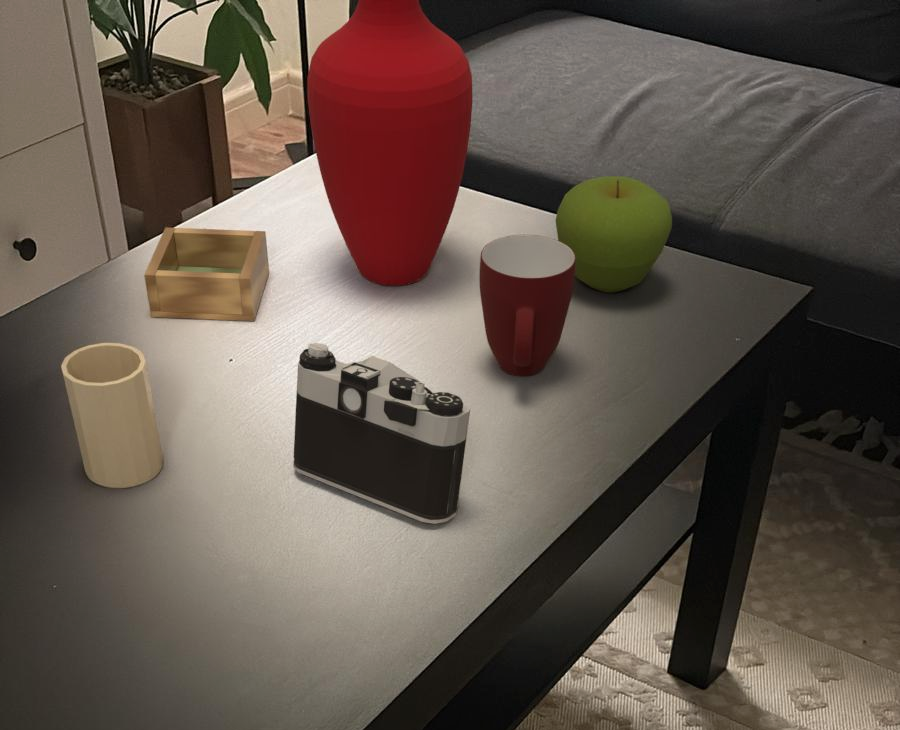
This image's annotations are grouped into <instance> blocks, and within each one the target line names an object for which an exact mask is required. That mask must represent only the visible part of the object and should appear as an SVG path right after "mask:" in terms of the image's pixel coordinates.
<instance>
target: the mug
mask: <svg viewBox="0 0 900 730" xmlns="http://www.w3.org/2000/svg"><path fill="white" fill-rule="evenodd" d="M479 257H480V258H479V277H478V280H479V284H478V285H479V294H480V302H481V308H482V316H483V317H482V318H483V323H484V330H485V336H486V341H487V344H488V346H489V349H490V351H491V353H492V355H493V357H494V358H495V360H496V362H497V364H498V366H499V367H500V369H501V370H502V371H503V372H505V373H507V374H508V375H512V376H514V377H515V376H517V377H531V376H533V375H536V374H538V373H540V372H541V371H542V370H543V369H544V368H545V366H546V365H547V363H548V362H549V360H550V359H551V357H552V356H553V354H554V353H555V351H556V349H557V348H558V346H559V343H560V342H561V341H560V340H561V337H562V334H563V330H564V328H565V327H564V326H565V323H566V319H567V315H568V311H569V308H570V304H571V300H572V297H573V293H574V288H575V285H574V284H575V277H576V276H575V264H576V257H575V254H574V252H573V251H572V249H571V248H570V247H568V246H567V245H566V244H564V243H562V242H560V241H558V239H556V238H555V239H554V238H552V237H548V236H544V235H537V234H513V235H512V234H511V235H507V236H502V237H498V238H496V239H494V240H492V241H490V242H488V243H487V244H485V245H484V246H483V248H482V249H481V251H480V256H479Z"/></svg>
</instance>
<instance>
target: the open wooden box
mask: <svg viewBox="0 0 900 730" xmlns="http://www.w3.org/2000/svg"><path fill="white" fill-rule="evenodd" d="M269 266H270V265H269V254H268V244H267V233H266V230H243V229H242V230H241V229H217V228H192V227H191V228H189V227H164V229H163V232H162V234H161V236H160V238H159V240H158V242H157V245H156V247H155V250H154V252H153V254H152V256H151V258H150V261H149V262H148V266H147V267H146V270H145V272H144V274H143V277H144V282H145V283H144V284H145V288H146V293H147V295H146V296H147V300H148V305H149V313H150V318H164V319H165V318H169V319H191V320H194V319H195V320H214V321H215V320H216V321H217V320H218V321H241V322H242V321H243V322H255V319H256V317H257V313H258V311H259V307H260V303H261V300H262V297H263V294H264V291H265V288H266V285H267V284H266V283H267V281H268V277H269V275H270V267H269Z"/></svg>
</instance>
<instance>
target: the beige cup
mask: <svg viewBox="0 0 900 730" xmlns="http://www.w3.org/2000/svg"><path fill="white" fill-rule="evenodd" d="M147 365H148V364H147V360H146V357H145V355H144V353H143V352H142V351H140V350H139V349H138V348H136V347H135V346H132V345H129V344H124V343H120V342H99V343H94V344H89V345H86V346H83V347H80V348H77V349H74V351H72V352H71V353H69V354H68V355H67V356H65V357H64V359H63V361H62V363H61V365H60V369H61V373H62V377H63V382H64V387H65V391H66V394H67V399H68V403H69V408H70V413H71V417H72V420H73V425H74V430H75V433H76V434H75V435H76V439H77V442H78V447H79V451H80V456H81V460H82V464H83V468H84V472H85V475H86V477H87V478H88V479H89V480H90V481H91V482H92V483H94V484H96V485H98V486H102V487H105V488H109V489H126V488H132V487H136V486H137V487H138V486H140V485H144V484H146V483H147V482H149V481H151V480H153V479H154V478H155V477H157V476H158V475H159V473H160V472H161V470H162V469H163V465H164V457H163V450H162V444H161V440H160V434H159V429H158V422H157V417H156V416H157V415H156V411H155V405H154V400H153V394H152V389H151V387H152V386H151V382H150V377H149V371H148V366H147Z"/></svg>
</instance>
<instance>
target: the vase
mask: <svg viewBox="0 0 900 730" xmlns="http://www.w3.org/2000/svg"><path fill="white" fill-rule="evenodd" d="M419 1H420V0H358V1H357V5H356V7H355V10H354V12H353V14H352V15H351V17H350V18H349V19H348V21H346V22H345V23H344V24H343V25H342V26H341V27H340V28H339V29H337V30H335V31H334V32H333V33H332V34H330V35H329V36H328V37H326V38H325V39H324V40H322V41H321V43H320V44H319V45H318V46H317V48H316V49H315V51H314V53H313V54H312V56H311V59H310V63H309V68H308V74H307V80H306V81H307V82H306V83H307V104H308V105H307V106H308V113H309V115H308V116H309V121H310V129H311V134H312V139H313V145H314V150H315V155H316V160H317V164H318V167H319V172H320V175H321V179H322V180H321V181H322V183H323V187H324V190H325V193H326V197H327V200H328V203H329V206H330V208H331V211H332V214H333V216H334V219H335V222H336V225H337V227H338V229H339V231H340V234H341V236H342V238H343V241H344V242H345V243H344V244H345V246H346V247H347V249H348V252H349V254H350V256H351V258H352V260H353V262H354V265H355V267H356V269H357V271H358V272H359V274H360V275H361V276H362V277H363V278H364V279H366V280H367V281H369V282H371V283H373V284H377V285H380V286H381V285H382V286H387V287H396V286H397V287H398V286H399V287H400V286H406V285H410V284H414V283H416V282H419V281H420V280H421V279H423V278H424V277H425V276H426V275H427V274H428V272H429V270H430V268H431V266H432V264H433V262H434V259H435V257H436V254H437V252H438V250H439V247H440V245H441V243H442V240H443V237H444V235H445V233H446V231H447V227H448V225H449V223H450V219H451V217H452V214H453V212H454V208H455V204H456V201H457V199H458V195H459V191H460V187H461V183H462V178H463V175H464V169H465V166H466V165H465V164H466V159H467V156H468V155H467V154H468V147H469V141H470V133H471V126H472V124H471V123H472V112H473V74H472V70H471V66H470V63H469V62H470V61H469V58H468V57H467V55H466V54H465V51H463V49H462V47H461V45H460V44H459V43H458V42H457V41H456V40H454V39H453V38H452V37H450V36H449V35H448V34H446V33H445V32H444V31H443V30H441V29H439V28H438V27H437V26H436V25H435V24H433V23H432V21H430V20H429V18H428V17H427V15H426V14H425V13H424V11H423V9H422V6H421V4H420V2H419Z"/></svg>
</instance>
